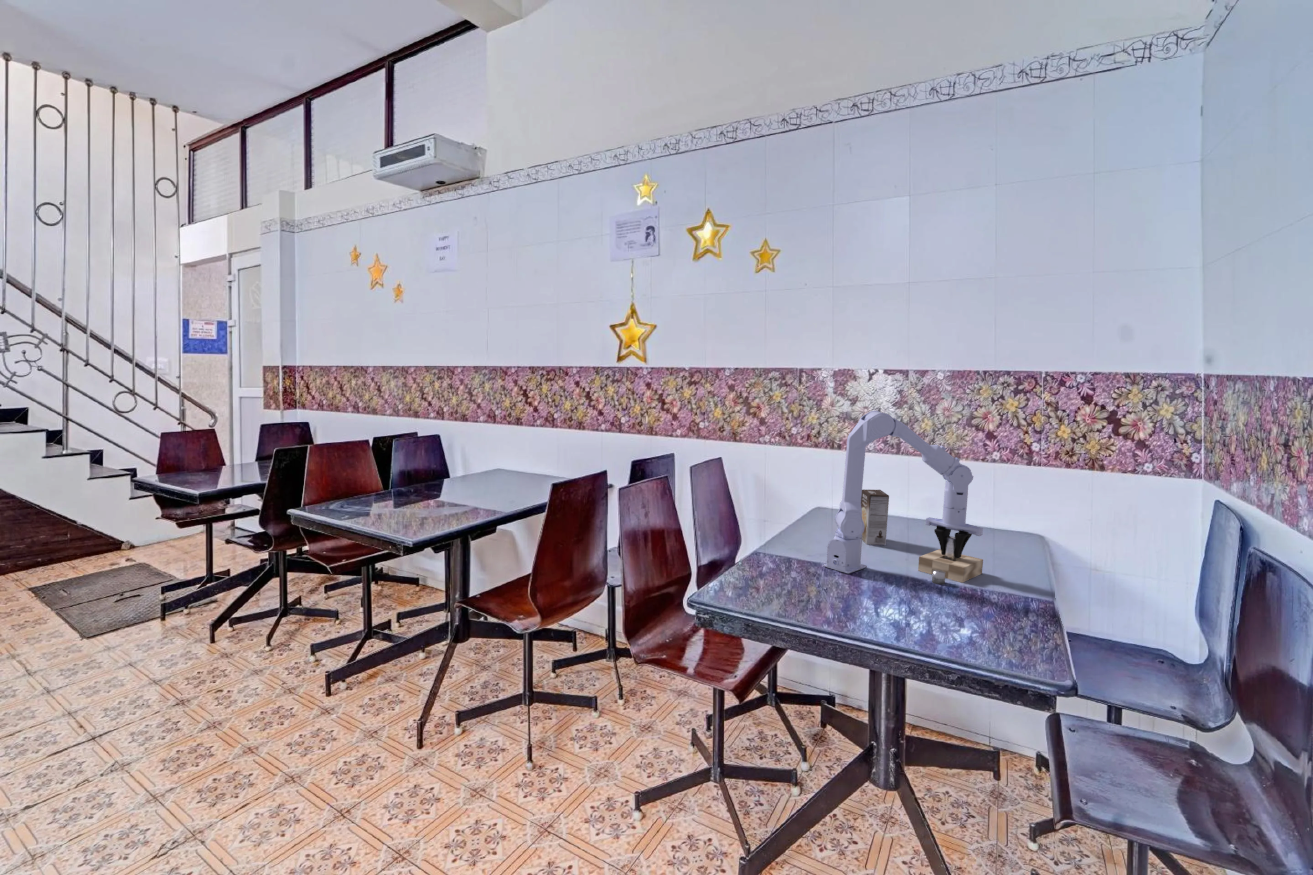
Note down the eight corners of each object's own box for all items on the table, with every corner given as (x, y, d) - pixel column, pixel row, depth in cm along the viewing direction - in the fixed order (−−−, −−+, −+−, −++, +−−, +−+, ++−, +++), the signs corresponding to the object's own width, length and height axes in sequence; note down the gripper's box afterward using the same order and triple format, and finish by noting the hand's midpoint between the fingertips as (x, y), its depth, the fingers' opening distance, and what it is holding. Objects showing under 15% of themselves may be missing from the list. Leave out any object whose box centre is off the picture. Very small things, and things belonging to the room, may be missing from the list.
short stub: (941, 585, 161) (942, 574, 160) (929, 582, 163) (930, 571, 163) (946, 583, 163) (947, 571, 162) (935, 579, 165) (936, 568, 164)
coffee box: (857, 536, 206) (860, 488, 204) (877, 537, 206) (880, 489, 204) (866, 544, 197) (869, 494, 195) (887, 545, 196) (890, 495, 195)
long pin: (952, 568, 169) (954, 539, 168) (941, 565, 171) (944, 537, 170) (958, 566, 171) (960, 538, 170) (947, 563, 173) (950, 535, 172)
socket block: (962, 582, 163) (963, 567, 162) (918, 570, 172) (919, 556, 172) (981, 573, 171) (983, 559, 170) (938, 562, 180) (939, 548, 179)
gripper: (989, 510, 166) (985, 559, 168) (935, 500, 177) (932, 547, 179) (977, 513, 162) (973, 564, 163) (923, 503, 173) (920, 551, 174)
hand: (951, 555), depth 171 cm, fingers open, 3 cm apart
